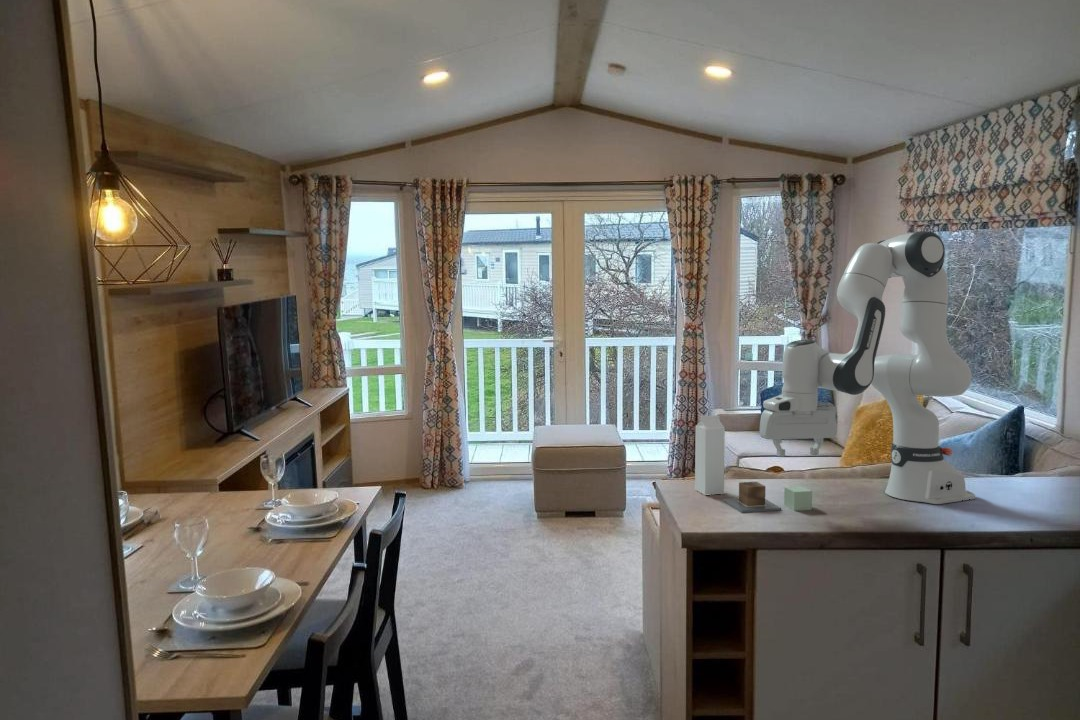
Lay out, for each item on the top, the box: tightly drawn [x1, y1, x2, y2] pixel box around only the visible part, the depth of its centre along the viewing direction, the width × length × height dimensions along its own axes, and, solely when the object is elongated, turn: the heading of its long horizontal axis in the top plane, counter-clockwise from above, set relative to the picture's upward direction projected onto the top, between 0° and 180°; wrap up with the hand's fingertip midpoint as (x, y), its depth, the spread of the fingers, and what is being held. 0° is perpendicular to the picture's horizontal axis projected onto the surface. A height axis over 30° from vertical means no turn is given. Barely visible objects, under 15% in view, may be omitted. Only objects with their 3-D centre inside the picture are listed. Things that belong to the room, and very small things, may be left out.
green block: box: [783, 485, 813, 512], centre depth 189 cm, size 5×5×5 cm
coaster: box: [722, 497, 782, 514], centre depth 191 cm, size 11×11×1 cm
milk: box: [694, 414, 726, 495], centre depth 204 cm, size 6×6×22 cm
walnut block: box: [738, 481, 766, 506], centre depth 191 cm, size 5×5×5 cm
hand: (797, 455), depth 188 cm, fingers open, 8 cm apart
